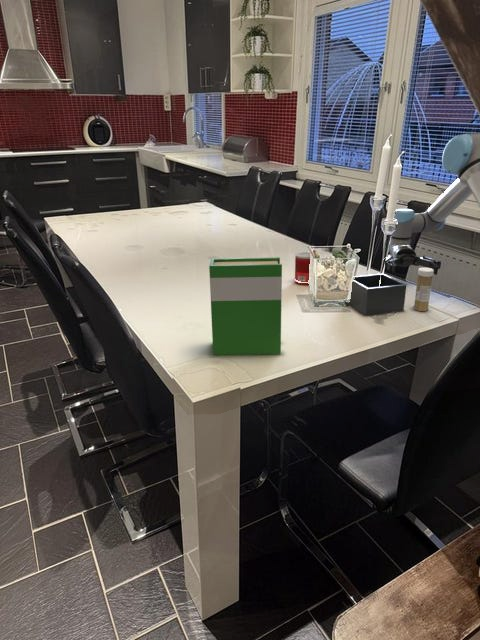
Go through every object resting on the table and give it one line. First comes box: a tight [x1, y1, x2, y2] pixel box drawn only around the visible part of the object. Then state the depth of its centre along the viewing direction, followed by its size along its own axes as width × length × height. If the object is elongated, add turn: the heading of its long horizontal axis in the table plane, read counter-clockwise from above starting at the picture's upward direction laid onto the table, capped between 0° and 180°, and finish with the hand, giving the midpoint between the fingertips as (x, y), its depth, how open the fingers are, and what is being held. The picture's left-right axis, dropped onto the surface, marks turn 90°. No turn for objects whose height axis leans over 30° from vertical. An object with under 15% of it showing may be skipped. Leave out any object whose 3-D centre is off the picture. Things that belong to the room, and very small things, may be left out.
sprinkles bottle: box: [413, 267, 434, 312], centre depth 148 cm, size 5×5×13 cm
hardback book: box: [208, 256, 283, 356], centre depth 121 cm, size 18×7×24 cm, turn 90°
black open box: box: [347, 273, 408, 317], centre depth 152 cm, size 14×14×9 cm
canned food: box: [294, 251, 311, 286], centre depth 178 cm, size 8×8×11 cm
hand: (415, 270), depth 159 cm, fingers open, 13 cm apart
